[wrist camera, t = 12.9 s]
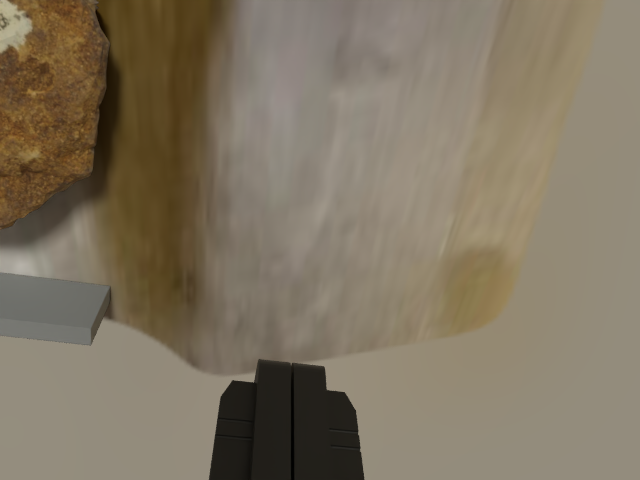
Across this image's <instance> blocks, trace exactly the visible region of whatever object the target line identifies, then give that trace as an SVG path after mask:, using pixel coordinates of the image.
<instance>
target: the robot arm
mask: <svg viewBox="0 0 640 480" xmlns="http://www.w3.org/2000/svg"><path fill="white" fill-rule="evenodd" d="M359 441H360V440H359V435H358V424H357V416H356V410H355V409H354V407H353V405H352V404H351V402H350V400H349V399H348V397H347V395H346V394H345V392H338V391H329V390H327V389H326V375H325V368H324V366H316V365H307V364H298V363H292V365H291V364H290V363H288V362H279V361H270V360H261V359H259V360H258V364H257V369H256V375H255V380H254V383H253V382H243V381H234V380H233V381H232V382H231V383H230V385H229V386H228V388H227V389H226V390H225V392H224V393H223V394H222V396H221V399H220V405H219V412H218V419H217V427H216V434H215V440H214V448H213V455H212V461H211V469H210V476H209V480H364V473H363V465H362V457H361V452H360V442H359Z"/></svg>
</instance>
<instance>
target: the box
mask: <svg viewBox="0 0 640 480" xmlns="http://www.w3.org/2000/svg"><path fill="white" fill-rule="evenodd" d="M109 303H110V286H105V285H97V284H88V283H80V282H72V281H64V280H56V279H48V278H40V277H32V276H24V275H15V274H7V273H0V335H1V336H10V337H18V338H27V339H37V340H46V341H55V342H64V343H74V344H83V345H91V344H92V342H93V339H94V337H95V335H96V333H97V330H98V328H99V326H100V323H101V321H102V319H103V317H104V314H105V312H106V310H107V307H108V305H109Z"/></svg>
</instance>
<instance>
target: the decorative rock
mask: <svg viewBox="0 0 640 480" xmlns="http://www.w3.org/2000/svg"><path fill="white" fill-rule="evenodd" d="M98 3H99V2H97V1H96V0H0V230H1V229H4V228H7V227H10V226H13V224H14V223H15V221H16V220H17V219H18V218H24V217H25V216H26V215H27V214H28V213H30V212H32V211H34V210H36V209H39V208H40V207H41V206H42V205H43V204H44V203H45V202H46V201H47V200H48V199H50V198H51V197H52V196H53V195H54V194H56V193H57V192H61V191H65V190H66V189H67V188H69V187H70V186H71V185H72V184H74V183H75V182H77V181H79V180H82V179H84V178H87V177H90V175H91V173H92V170H93V159H94V146H95V145H96V144H97V135H98V131H97V126H98V120H99V106H100V104H101V102H102V100H103V97H104V94H105V91H106V88H107V85H106V71H107V60H108V53H109V47H110V42H109V41H108V39H107V38H106V36H105V35H104V33H103V31H102V30H101V28H100V25H99V22H98V19H97V16H96V13H95V11H96V10H97V9H98V7H97V6H96V4H98Z"/></svg>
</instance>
